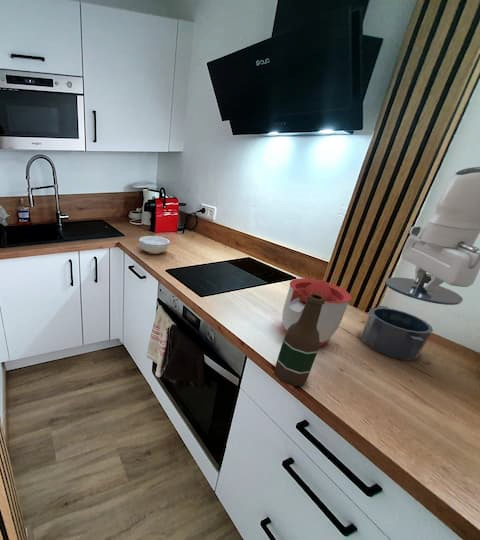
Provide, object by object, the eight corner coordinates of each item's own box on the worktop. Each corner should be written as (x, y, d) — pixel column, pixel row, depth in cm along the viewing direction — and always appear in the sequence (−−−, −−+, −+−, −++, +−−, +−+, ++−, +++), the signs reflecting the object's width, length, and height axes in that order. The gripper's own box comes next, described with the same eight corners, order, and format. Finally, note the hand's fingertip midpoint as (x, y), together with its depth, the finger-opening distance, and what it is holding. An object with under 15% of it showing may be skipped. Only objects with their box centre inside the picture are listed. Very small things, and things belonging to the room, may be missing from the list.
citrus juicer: (262, 329, 95) (277, 274, 87) (296, 318, 101) (313, 266, 93) (306, 358, 82) (329, 297, 74) (343, 344, 88) (367, 287, 80)
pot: (396, 332, 95) (408, 307, 92) (435, 371, 79) (452, 343, 75) (349, 324, 99) (359, 300, 95) (377, 360, 82) (390, 332, 78)
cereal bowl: (174, 251, 162) (175, 240, 160) (157, 259, 151) (158, 246, 148) (150, 245, 173) (150, 233, 170) (132, 251, 161) (133, 239, 158)
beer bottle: (311, 379, 74) (343, 299, 65) (296, 392, 70) (328, 308, 61) (282, 362, 80) (306, 286, 71) (266, 373, 76) (291, 293, 66)
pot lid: (434, 285, 80) (443, 268, 78) (477, 311, 67) (489, 291, 65) (373, 278, 84) (380, 261, 82) (403, 301, 71) (412, 283, 69)
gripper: (503, 251, 60) (469, 308, 65) (435, 227, 78) (413, 274, 83) (465, 248, 61) (435, 304, 67) (407, 225, 79) (387, 271, 85)
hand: (423, 287), depth 75 cm, fingers closed on pot lid, 2 cm apart
